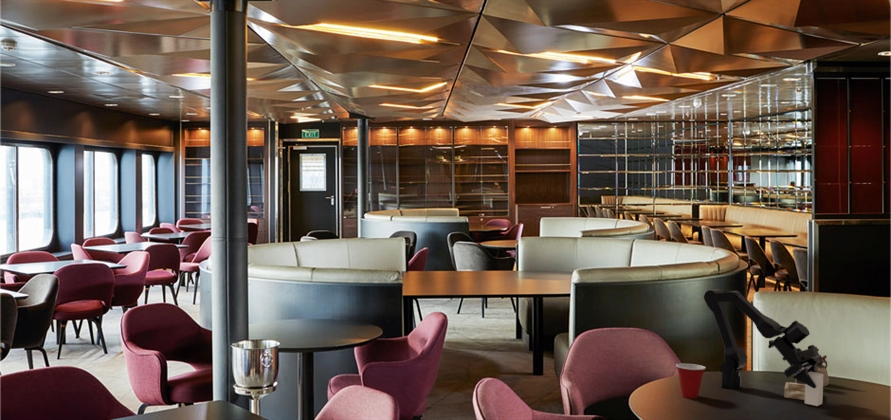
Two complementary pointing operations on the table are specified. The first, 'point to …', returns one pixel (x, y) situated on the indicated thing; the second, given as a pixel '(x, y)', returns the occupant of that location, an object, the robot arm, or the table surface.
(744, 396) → the table surface
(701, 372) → the plastic cup
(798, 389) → the cradle
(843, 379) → the table surface
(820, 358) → the figurine
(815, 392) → the block
